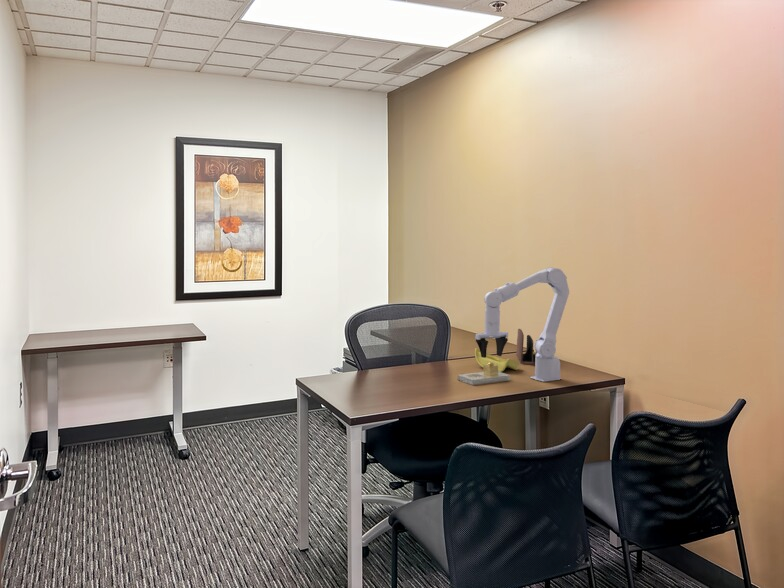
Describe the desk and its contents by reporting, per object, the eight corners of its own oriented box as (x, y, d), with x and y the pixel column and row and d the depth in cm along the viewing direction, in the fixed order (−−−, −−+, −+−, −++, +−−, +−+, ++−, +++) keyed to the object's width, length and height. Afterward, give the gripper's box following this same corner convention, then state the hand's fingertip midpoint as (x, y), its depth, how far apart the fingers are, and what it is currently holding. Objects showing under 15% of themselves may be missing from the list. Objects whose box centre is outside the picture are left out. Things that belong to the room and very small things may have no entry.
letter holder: (520, 364, 275) (521, 332, 274) (516, 356, 295) (516, 326, 294) (543, 364, 274) (544, 333, 273) (537, 356, 294) (538, 327, 293)
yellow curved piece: (521, 364, 263) (507, 357, 257) (514, 380, 262) (501, 373, 256) (487, 354, 278) (473, 346, 272) (481, 369, 277) (467, 362, 271)
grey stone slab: (494, 375, 252) (494, 370, 252) (510, 380, 243) (510, 375, 243) (457, 379, 244) (457, 374, 243) (472, 385, 235) (472, 379, 235)
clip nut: (491, 372, 248) (491, 361, 247) (498, 374, 244) (498, 363, 244) (483, 373, 245) (483, 362, 245) (490, 375, 242) (490, 364, 242)
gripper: (500, 320, 250) (499, 353, 251) (471, 322, 243) (470, 356, 244) (511, 322, 244) (510, 356, 245) (481, 324, 237) (481, 359, 238)
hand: (491, 356), depth 244 cm, fingers open, 7 cm apart
